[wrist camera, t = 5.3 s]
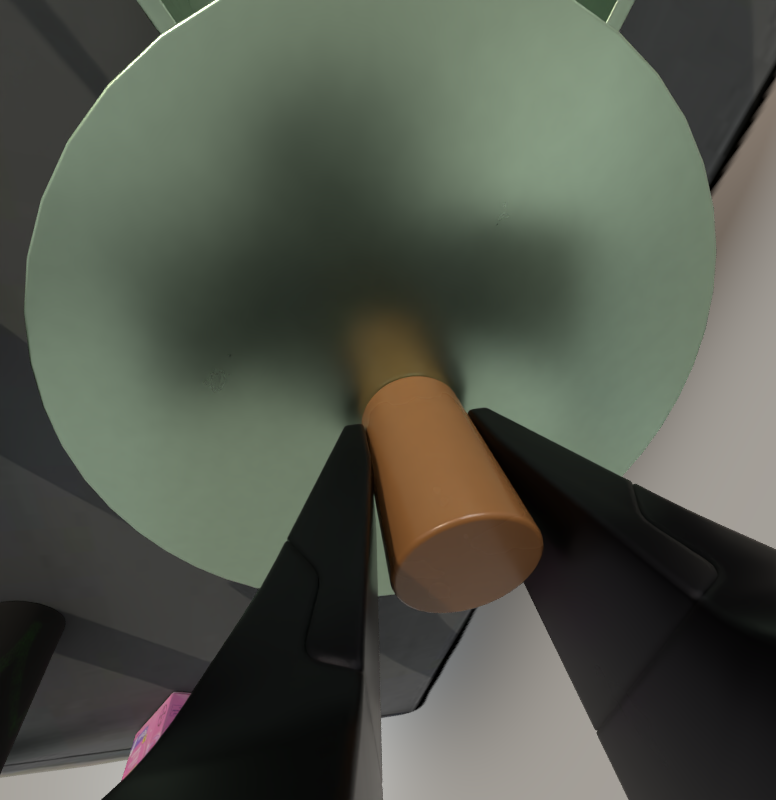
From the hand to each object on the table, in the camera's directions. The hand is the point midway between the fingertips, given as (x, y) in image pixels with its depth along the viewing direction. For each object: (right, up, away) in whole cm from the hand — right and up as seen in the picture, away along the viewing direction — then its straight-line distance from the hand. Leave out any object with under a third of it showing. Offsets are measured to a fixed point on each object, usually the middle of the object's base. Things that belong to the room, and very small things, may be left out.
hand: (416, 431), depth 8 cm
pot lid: (0, +1, +1) cm, 1 cm away
